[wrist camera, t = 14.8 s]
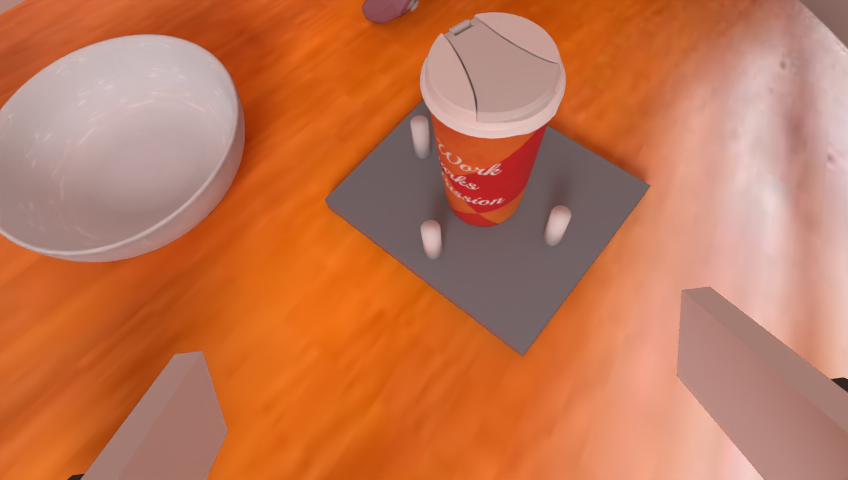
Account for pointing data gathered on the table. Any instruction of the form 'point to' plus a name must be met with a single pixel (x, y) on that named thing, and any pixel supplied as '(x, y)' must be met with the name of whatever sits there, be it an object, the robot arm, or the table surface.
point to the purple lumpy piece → (387, 9)
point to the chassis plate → (496, 245)
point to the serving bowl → (118, 148)
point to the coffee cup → (490, 110)
